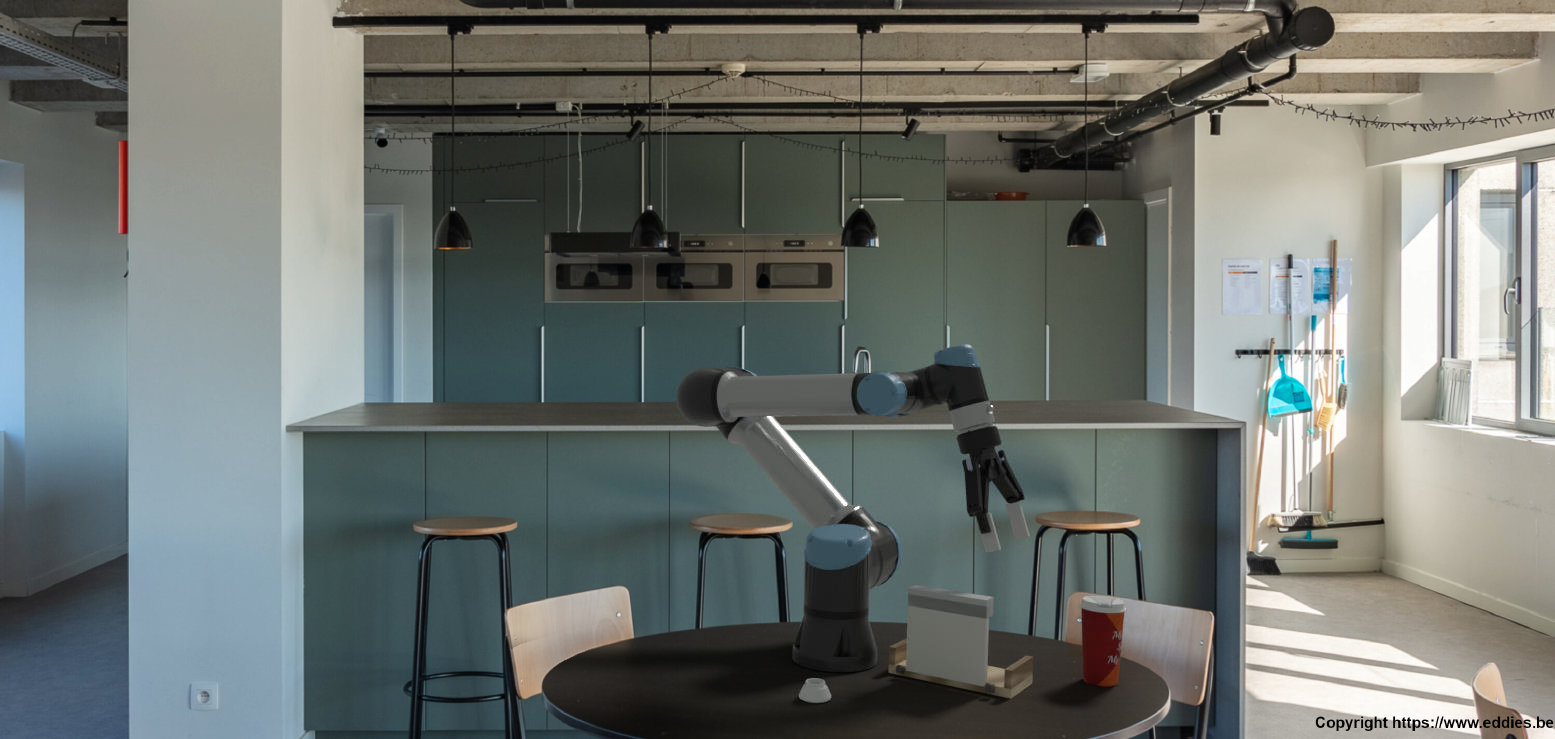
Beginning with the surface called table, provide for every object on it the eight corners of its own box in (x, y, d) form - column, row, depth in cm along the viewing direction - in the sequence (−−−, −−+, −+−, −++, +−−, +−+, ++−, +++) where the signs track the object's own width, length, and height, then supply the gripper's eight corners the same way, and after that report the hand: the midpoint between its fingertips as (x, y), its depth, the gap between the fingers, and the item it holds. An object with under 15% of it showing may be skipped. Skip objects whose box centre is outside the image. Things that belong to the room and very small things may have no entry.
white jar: (796, 695, 166) (802, 705, 161) (796, 676, 166) (803, 686, 161) (826, 694, 167) (834, 704, 162) (827, 675, 167) (834, 685, 162)
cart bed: (882, 675, 177) (883, 649, 177) (913, 659, 187) (914, 634, 187) (1006, 702, 165) (1006, 674, 165) (1032, 683, 175) (1033, 656, 175)
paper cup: (1127, 690, 172) (1129, 606, 172) (1079, 686, 174) (1081, 603, 174) (1121, 676, 180) (1123, 596, 180) (1075, 672, 182) (1077, 593, 181)
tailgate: (905, 670, 175) (908, 587, 175) (913, 666, 178) (916, 584, 177) (984, 686, 167) (986, 600, 167) (991, 682, 170) (993, 597, 170)
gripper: (965, 429, 175) (1000, 553, 172) (1020, 418, 196) (1052, 528, 193) (927, 440, 179) (960, 561, 176) (984, 428, 200) (1015, 536, 197)
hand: (1008, 544), depth 185 cm, fingers open, 13 cm apart
